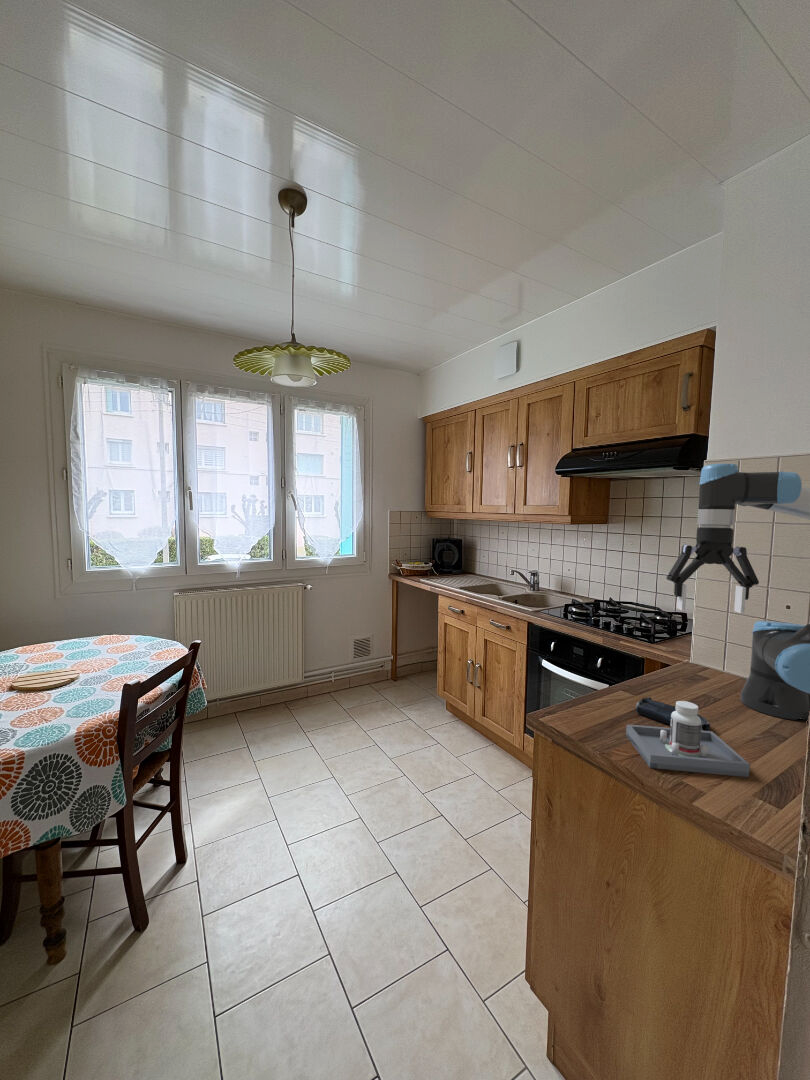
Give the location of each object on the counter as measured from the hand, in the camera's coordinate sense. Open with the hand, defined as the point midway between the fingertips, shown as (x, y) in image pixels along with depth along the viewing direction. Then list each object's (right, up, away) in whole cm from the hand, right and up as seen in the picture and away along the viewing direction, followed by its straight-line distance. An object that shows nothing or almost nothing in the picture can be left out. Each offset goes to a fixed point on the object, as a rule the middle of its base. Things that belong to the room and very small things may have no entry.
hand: (709, 611), depth 111 cm
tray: (-19, -27, -18) cm, 38 cm away
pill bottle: (-18, -26, -18) cm, 37 cm away
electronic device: (-11, -27, -3) cm, 29 cm away
